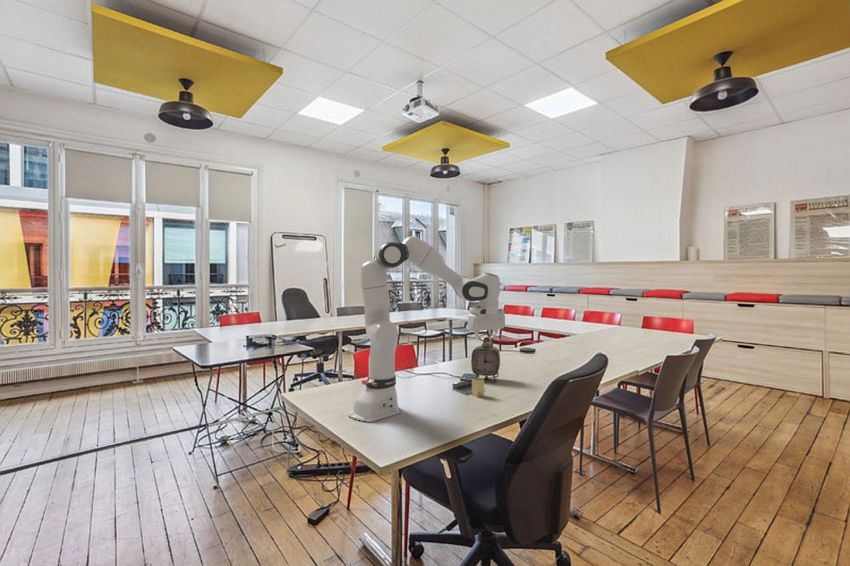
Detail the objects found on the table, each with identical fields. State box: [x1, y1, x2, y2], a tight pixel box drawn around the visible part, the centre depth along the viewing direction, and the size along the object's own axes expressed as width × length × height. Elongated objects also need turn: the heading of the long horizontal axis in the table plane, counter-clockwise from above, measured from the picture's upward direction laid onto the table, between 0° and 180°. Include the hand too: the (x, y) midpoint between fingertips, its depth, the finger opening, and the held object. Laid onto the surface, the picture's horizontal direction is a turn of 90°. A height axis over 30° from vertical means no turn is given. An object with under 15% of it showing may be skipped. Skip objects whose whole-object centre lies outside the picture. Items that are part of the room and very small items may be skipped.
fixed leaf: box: [452, 379, 472, 396], centre depth 195 cm, size 10×12×4 cm
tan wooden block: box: [471, 377, 485, 399], centre depth 186 cm, size 4×4×8 cm
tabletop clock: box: [470, 333, 501, 382], centre depth 213 cm, size 14×9×25 cm, turn 73°
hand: (485, 339), depth 179 cm, fingers open, 8 cm apart
